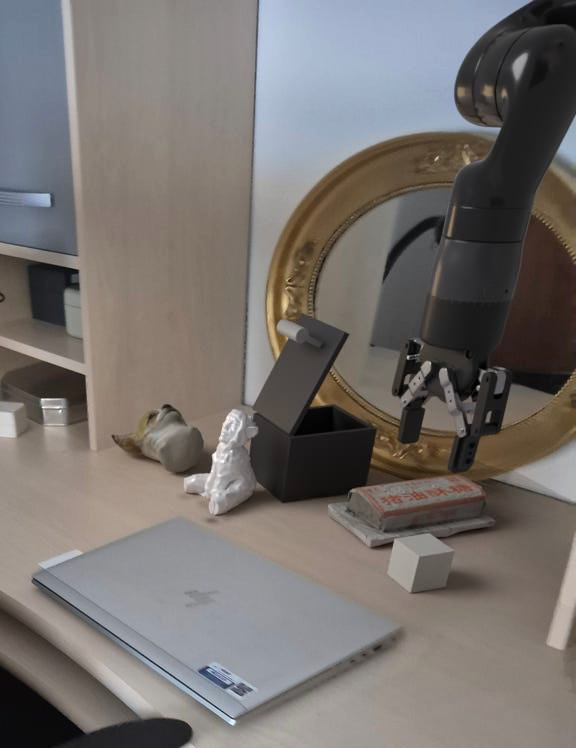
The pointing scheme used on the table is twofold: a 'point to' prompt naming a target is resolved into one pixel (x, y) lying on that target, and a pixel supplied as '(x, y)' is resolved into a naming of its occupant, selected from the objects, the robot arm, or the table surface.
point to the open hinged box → (313, 454)
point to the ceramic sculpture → (164, 439)
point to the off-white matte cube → (420, 562)
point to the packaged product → (413, 509)
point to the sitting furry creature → (228, 467)
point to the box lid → (299, 371)
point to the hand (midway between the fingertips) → (431, 456)
